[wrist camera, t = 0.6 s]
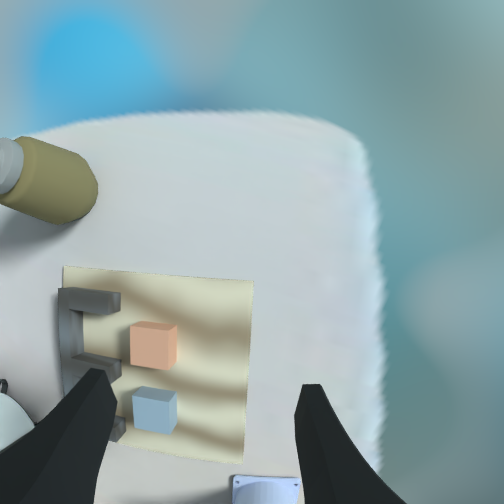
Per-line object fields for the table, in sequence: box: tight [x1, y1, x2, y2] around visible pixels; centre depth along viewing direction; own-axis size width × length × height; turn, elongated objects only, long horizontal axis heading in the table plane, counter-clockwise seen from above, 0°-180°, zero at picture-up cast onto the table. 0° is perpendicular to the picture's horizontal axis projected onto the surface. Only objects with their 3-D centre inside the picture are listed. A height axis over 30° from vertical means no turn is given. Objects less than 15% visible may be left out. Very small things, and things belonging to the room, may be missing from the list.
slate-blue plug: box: [132, 386, 177, 435], centre depth 30 cm, size 4×4×3 cm
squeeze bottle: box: [0, 136, 98, 225], centre depth 24 cm, size 8×8×18 cm
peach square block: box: [130, 321, 177, 370], centre depth 30 cm, size 4×4×3 cm
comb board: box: [58, 266, 254, 464], centre depth 31 cm, size 22×22×4 cm
